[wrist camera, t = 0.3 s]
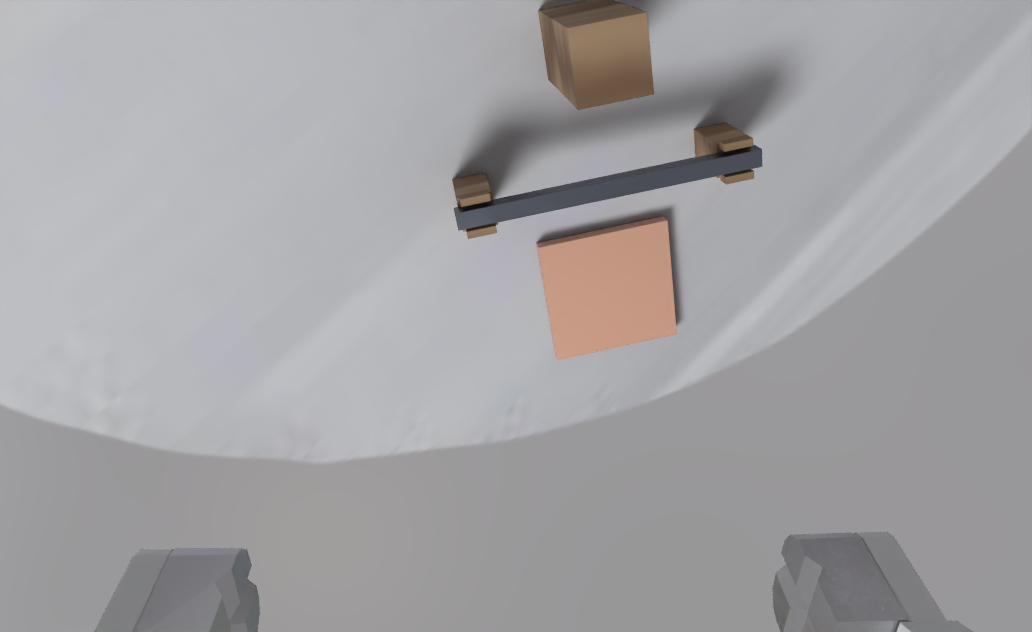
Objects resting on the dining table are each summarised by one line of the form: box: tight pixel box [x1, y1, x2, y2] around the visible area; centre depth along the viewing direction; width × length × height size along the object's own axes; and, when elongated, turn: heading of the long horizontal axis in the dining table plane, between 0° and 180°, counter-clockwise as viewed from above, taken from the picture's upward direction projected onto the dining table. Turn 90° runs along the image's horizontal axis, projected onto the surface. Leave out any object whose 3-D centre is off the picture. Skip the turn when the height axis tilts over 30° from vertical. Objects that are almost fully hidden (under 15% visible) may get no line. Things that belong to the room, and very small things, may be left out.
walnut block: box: [538, 0, 654, 110], centre depth 47 cm, size 4×4×10 cm
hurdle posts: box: [452, 123, 754, 239], centre depth 54 cm, size 3×20×5 cm, turn 100°
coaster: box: [536, 216, 677, 360], centre depth 60 cm, size 10×10×1 cm
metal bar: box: [454, 145, 762, 230], centre depth 52 cm, size 1×21×1 cm, turn 100°
